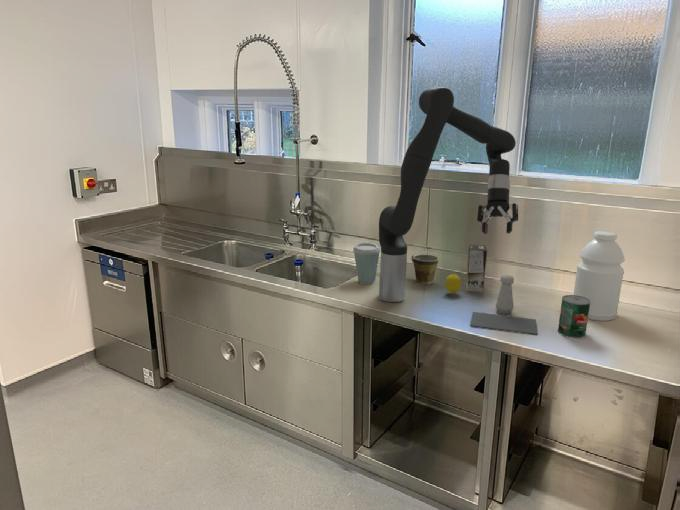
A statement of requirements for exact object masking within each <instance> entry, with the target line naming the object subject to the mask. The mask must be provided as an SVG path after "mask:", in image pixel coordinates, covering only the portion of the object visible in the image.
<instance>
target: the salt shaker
mask: <svg viewBox="0 0 680 510" xmlns="http://www.w3.org/2000/svg"><path fill="white" fill-rule="evenodd" d="M499 282H500V283H501V285H500V289H499V292H498V294H497V295H498V296H497V299H496V302H495V309H496V312H497V313H498V314H499V315H503V314H504V316H509V315H511V314H512V311H513V310H514V297H513V284H514V282H515V278H514V276H513V275H508V274H503V275H502V276H501V277H500V281H499Z"/></svg>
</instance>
